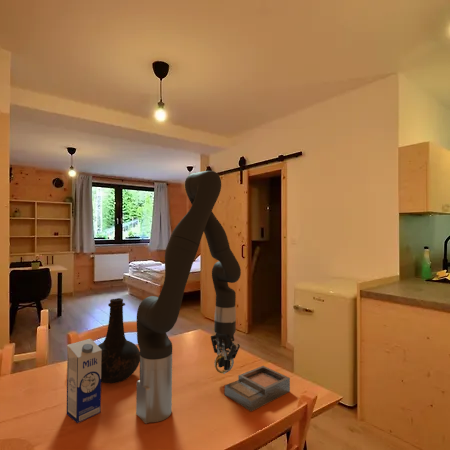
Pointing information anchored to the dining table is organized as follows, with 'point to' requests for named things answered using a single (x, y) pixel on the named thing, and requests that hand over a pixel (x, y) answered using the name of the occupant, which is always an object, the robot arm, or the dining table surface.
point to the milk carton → (83, 380)
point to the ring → (219, 359)
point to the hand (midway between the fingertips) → (224, 367)
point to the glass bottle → (117, 348)
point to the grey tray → (257, 387)
